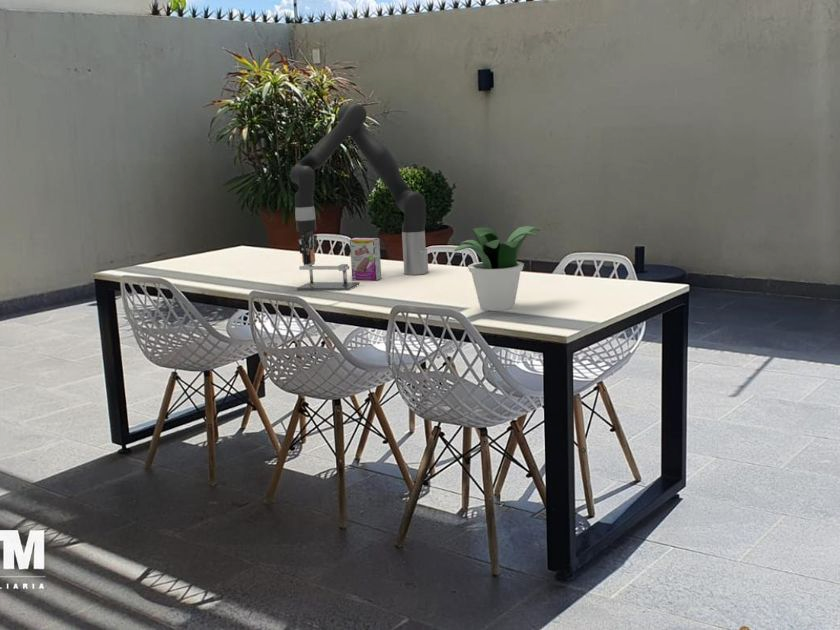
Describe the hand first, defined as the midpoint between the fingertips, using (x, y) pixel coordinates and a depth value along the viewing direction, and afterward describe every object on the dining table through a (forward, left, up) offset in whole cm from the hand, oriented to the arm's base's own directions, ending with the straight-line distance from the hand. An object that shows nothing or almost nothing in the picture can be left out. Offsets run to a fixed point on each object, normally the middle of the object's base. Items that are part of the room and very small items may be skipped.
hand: (309, 263), depth 376 cm
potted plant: (-82, +31, -10) cm, 88 cm away
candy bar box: (-16, -19, -10) cm, 27 cm away
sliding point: (0, 0, -8) cm, 8 cm away
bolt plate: (-7, -1, -10) cm, 12 cm away
